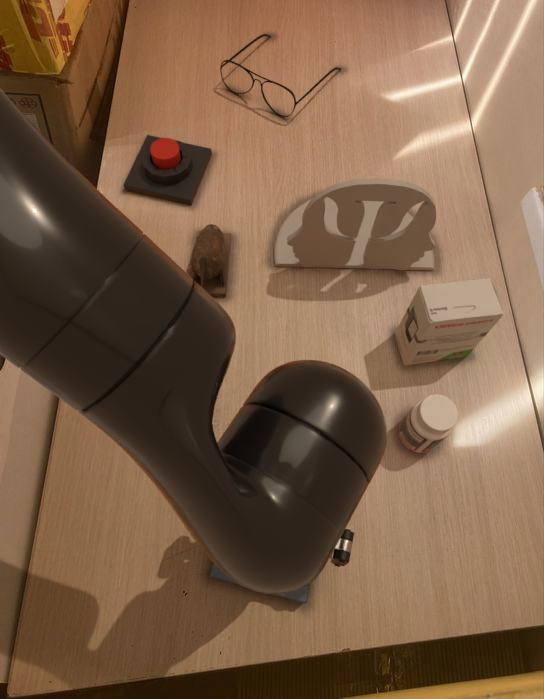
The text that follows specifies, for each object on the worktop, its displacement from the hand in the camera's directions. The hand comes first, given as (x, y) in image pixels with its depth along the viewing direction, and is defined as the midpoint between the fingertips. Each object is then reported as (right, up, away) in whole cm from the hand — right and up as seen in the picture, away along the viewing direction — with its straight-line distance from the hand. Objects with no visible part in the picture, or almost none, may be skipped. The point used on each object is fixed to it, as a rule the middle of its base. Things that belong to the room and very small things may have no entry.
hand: (270, 538), depth 55 cm
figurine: (-8, +29, +17) cm, 34 cm away
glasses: (+2, +64, +33) cm, 72 cm away
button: (-15, +46, +22) cm, 53 cm away
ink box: (+20, +20, +14) cm, 32 cm away
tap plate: (0, -1, +3) cm, 4 cm away
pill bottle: (+17, +9, +9) cm, 22 cm away
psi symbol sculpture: (+11, +36, +21) cm, 43 cm away
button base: (-15, +45, +24) cm, 53 cm away
